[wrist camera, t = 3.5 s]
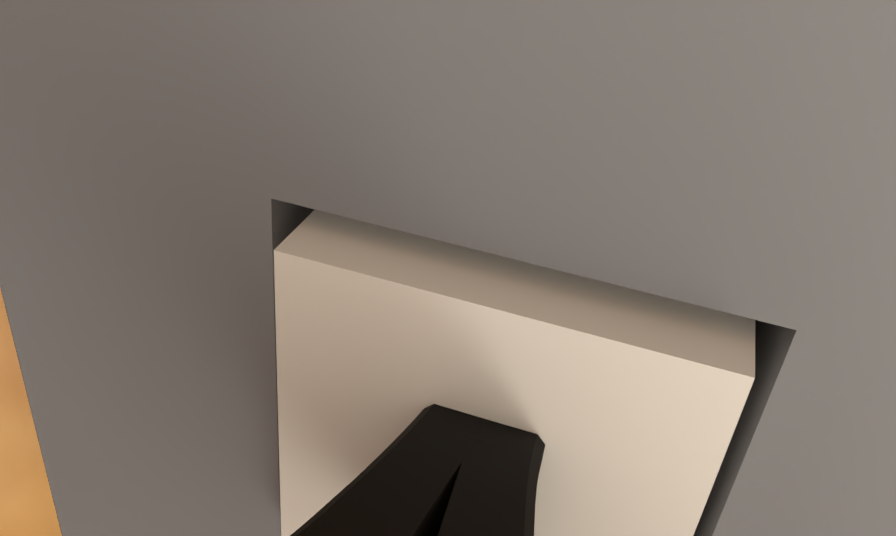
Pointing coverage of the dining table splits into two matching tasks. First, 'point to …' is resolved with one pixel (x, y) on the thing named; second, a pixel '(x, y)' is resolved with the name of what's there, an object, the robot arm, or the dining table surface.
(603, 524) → the white key
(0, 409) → the dining table surface
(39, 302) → the key console
